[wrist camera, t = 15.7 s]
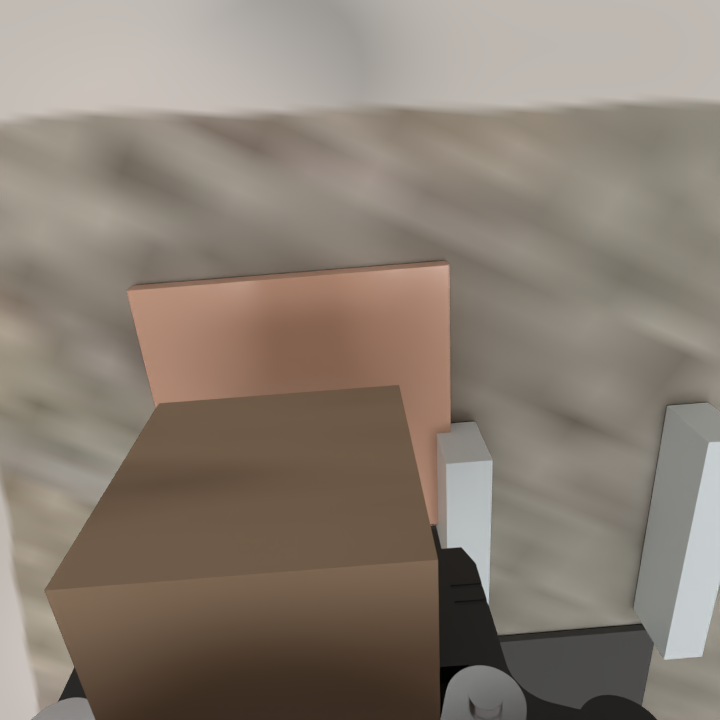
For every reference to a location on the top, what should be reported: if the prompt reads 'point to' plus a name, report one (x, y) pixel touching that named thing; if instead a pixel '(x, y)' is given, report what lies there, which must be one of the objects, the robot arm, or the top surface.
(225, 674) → the block
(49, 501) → the top surface
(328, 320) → the coaster
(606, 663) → the mat
